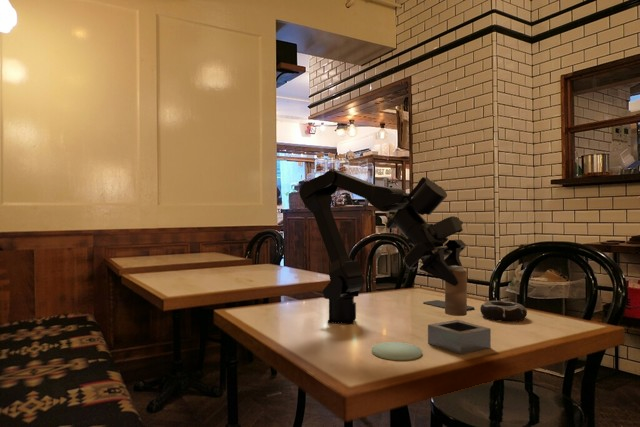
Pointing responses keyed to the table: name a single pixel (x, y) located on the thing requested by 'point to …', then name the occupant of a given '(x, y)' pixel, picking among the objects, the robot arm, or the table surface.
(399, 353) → the coaster
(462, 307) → the pepper mill
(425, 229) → the robot arm
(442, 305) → the smartphone
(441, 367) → the table surface
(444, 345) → the box
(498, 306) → the donut
